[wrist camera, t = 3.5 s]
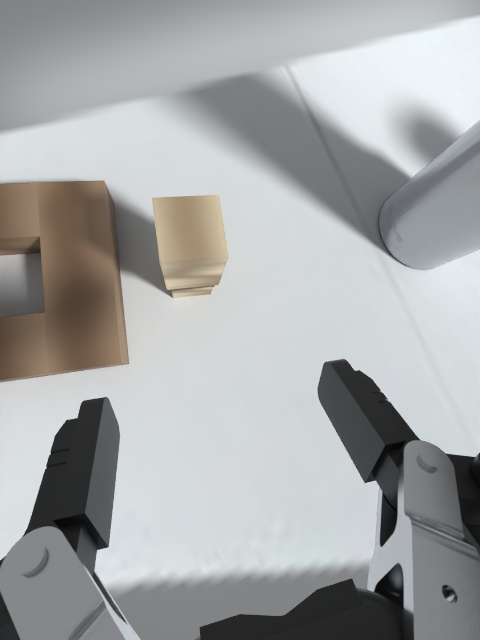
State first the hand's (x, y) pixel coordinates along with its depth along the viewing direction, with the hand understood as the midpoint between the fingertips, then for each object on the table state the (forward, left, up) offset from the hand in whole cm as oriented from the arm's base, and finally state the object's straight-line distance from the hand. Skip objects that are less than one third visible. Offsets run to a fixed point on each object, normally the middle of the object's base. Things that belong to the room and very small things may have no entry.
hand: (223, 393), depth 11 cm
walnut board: (+14, -10, -15) cm, 23 cm away
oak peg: (0, -9, -15) cm, 18 cm away
